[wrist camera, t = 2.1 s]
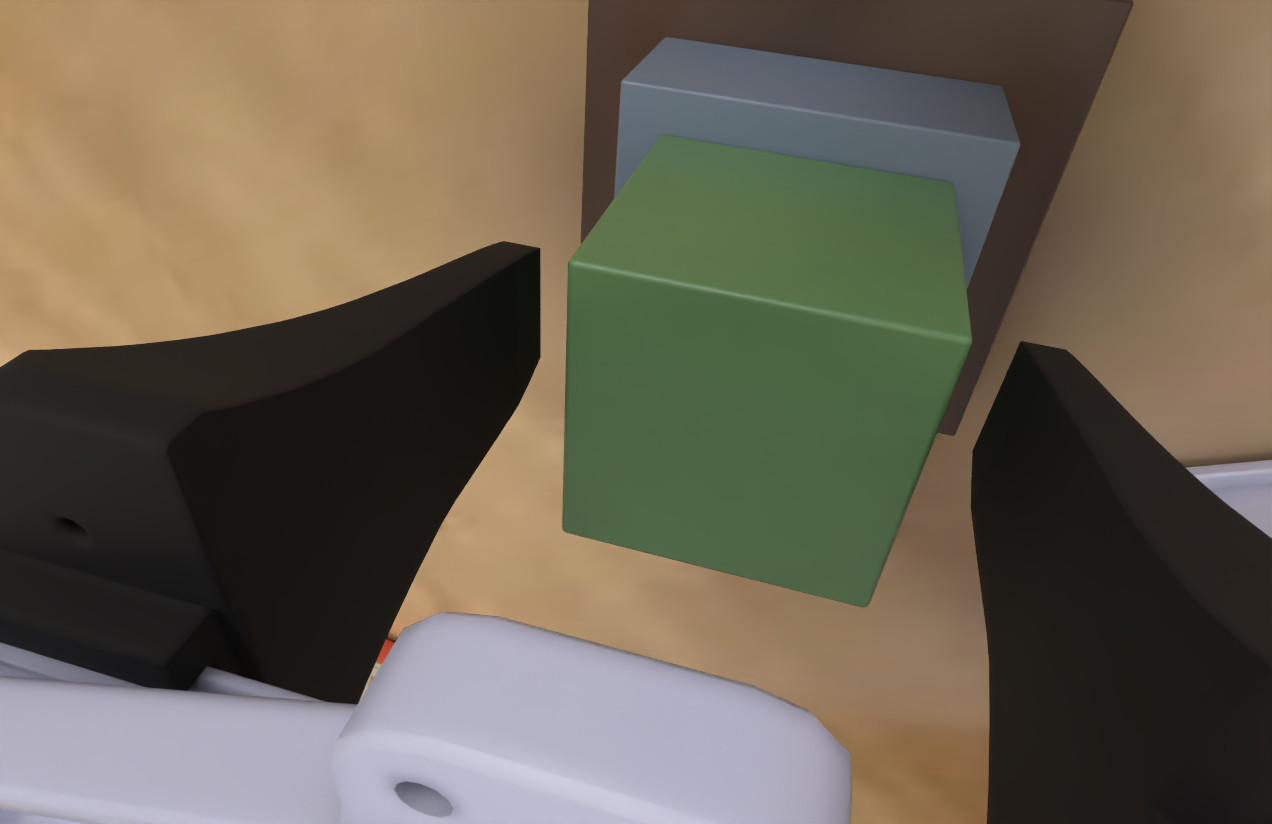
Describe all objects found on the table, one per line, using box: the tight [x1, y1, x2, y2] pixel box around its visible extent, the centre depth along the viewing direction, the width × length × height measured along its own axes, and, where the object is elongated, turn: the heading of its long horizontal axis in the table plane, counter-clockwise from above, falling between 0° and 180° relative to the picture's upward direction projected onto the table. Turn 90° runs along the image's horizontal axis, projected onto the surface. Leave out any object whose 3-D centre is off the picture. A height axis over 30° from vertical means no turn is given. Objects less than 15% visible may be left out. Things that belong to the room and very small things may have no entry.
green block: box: [562, 135, 972, 607], centre depth 12 cm, size 5×5×5 cm
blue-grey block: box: [614, 37, 1020, 290], centre depth 15 cm, size 6×6×3 cm
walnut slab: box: [581, 0, 1133, 436], centre depth 17 cm, size 9×9×2 cm
